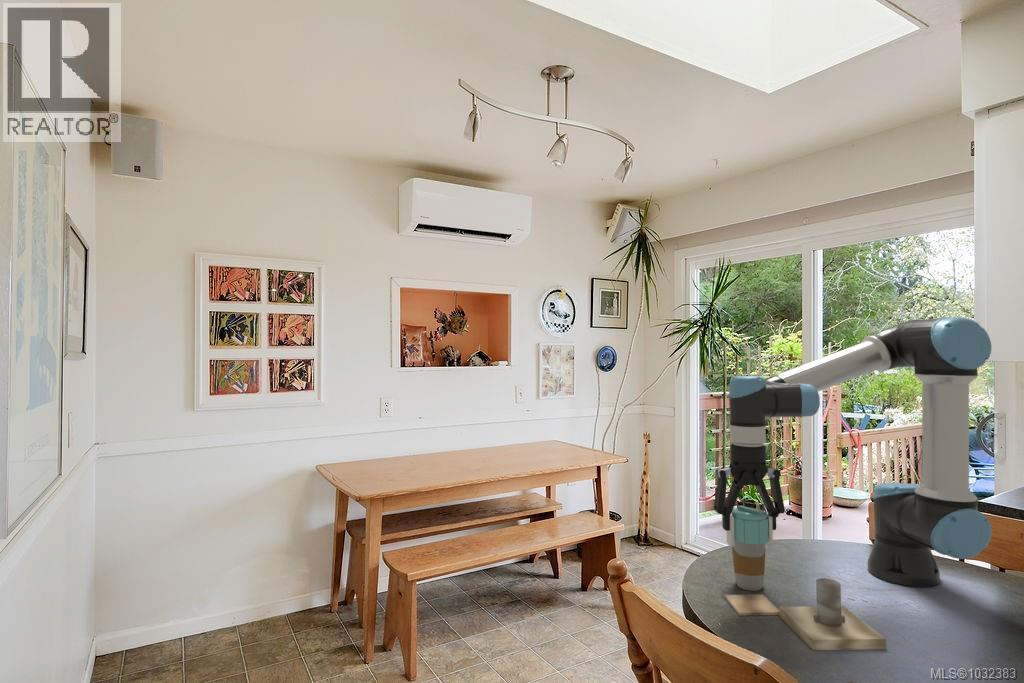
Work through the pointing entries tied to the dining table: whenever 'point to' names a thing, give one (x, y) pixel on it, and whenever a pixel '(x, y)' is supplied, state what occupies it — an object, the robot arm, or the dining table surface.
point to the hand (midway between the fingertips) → (749, 544)
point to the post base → (830, 634)
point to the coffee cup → (749, 565)
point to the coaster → (751, 605)
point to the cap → (750, 525)
